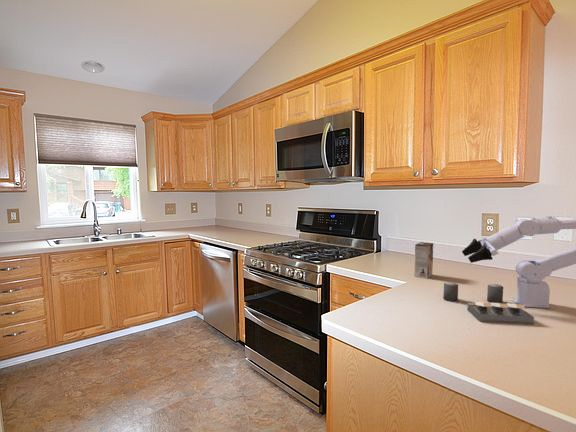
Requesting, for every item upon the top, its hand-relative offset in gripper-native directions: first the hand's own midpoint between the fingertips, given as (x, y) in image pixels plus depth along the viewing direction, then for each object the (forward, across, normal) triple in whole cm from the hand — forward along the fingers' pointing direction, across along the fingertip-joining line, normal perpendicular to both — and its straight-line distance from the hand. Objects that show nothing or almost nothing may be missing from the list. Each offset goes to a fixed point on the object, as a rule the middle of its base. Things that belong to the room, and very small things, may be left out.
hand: (466, 256), depth 128 cm
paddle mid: (+1, +20, +11) cm, 23 cm away
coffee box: (+19, -30, +12) cm, 37 cm away
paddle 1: (+5, +20, +8) cm, 22 cm away
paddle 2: (-3, +19, +14) cm, 24 cm away
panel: (+3, +20, +15) cm, 25 cm away
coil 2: (0, +4, +19) cm, 19 cm away
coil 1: (+14, +5, +10) cm, 18 cm away
